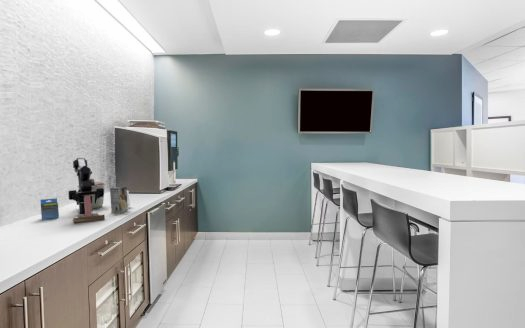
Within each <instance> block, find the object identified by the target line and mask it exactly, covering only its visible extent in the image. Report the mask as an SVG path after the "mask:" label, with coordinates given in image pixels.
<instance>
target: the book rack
mask: <svg viewBox="0 0 525 328" xmlns="http://www.w3.org/2000/svg"><path fill="white" fill-rule="evenodd" d="M77 216H78V217H74V218H72V222H73V224H74V225H75V224H82V223H90V222H99V221H104V220H105V219H106V216H105V214H99V213H98V212H92V216H88V217H85V214H78V215H77Z"/></svg>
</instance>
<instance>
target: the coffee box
mask: <svg viewBox="0 0 525 328" xmlns="http://www.w3.org/2000/svg"><path fill="white" fill-rule="evenodd" d="M127 191H128V190H127V187H126V186H118V187H117V186H116V187H113V188H110V189H109V193H110V209H111V211H110V213H112V214H121V213H124V212H128V211H129V208H128V205H127Z"/></svg>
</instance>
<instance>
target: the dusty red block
mask: <svg viewBox="0 0 525 328" xmlns="http://www.w3.org/2000/svg"><path fill="white" fill-rule="evenodd" d="M84 206H85V214H84V215H85V217H88V216H92V213H93V211H92V210H93V209H91V199H90V195H89V196H84Z"/></svg>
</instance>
